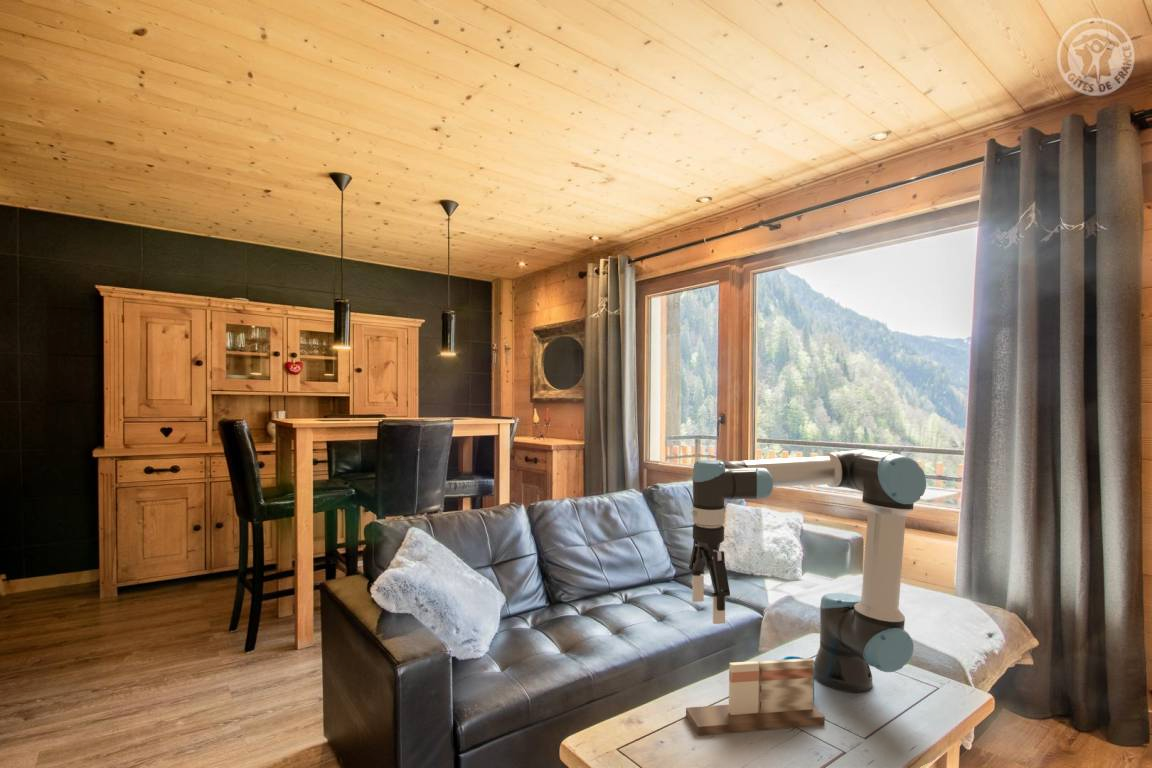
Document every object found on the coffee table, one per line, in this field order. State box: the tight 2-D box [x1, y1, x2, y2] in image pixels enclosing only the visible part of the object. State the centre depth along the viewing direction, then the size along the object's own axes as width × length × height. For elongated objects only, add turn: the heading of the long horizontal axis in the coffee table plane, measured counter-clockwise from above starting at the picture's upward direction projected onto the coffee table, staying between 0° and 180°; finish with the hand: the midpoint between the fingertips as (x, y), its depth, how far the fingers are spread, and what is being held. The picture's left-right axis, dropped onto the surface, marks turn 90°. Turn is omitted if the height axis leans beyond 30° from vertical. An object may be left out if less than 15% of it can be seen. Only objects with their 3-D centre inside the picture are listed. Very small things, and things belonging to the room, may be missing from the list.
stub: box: [728, 660, 759, 715], centre depth 140 cm, size 7×1×12 cm, turn 99°
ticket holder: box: [685, 657, 826, 736], centre depth 140 cm, size 32×8×14 cm, turn 99°
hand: (707, 611), depth 140 cm, fingers open, 13 cm apart
